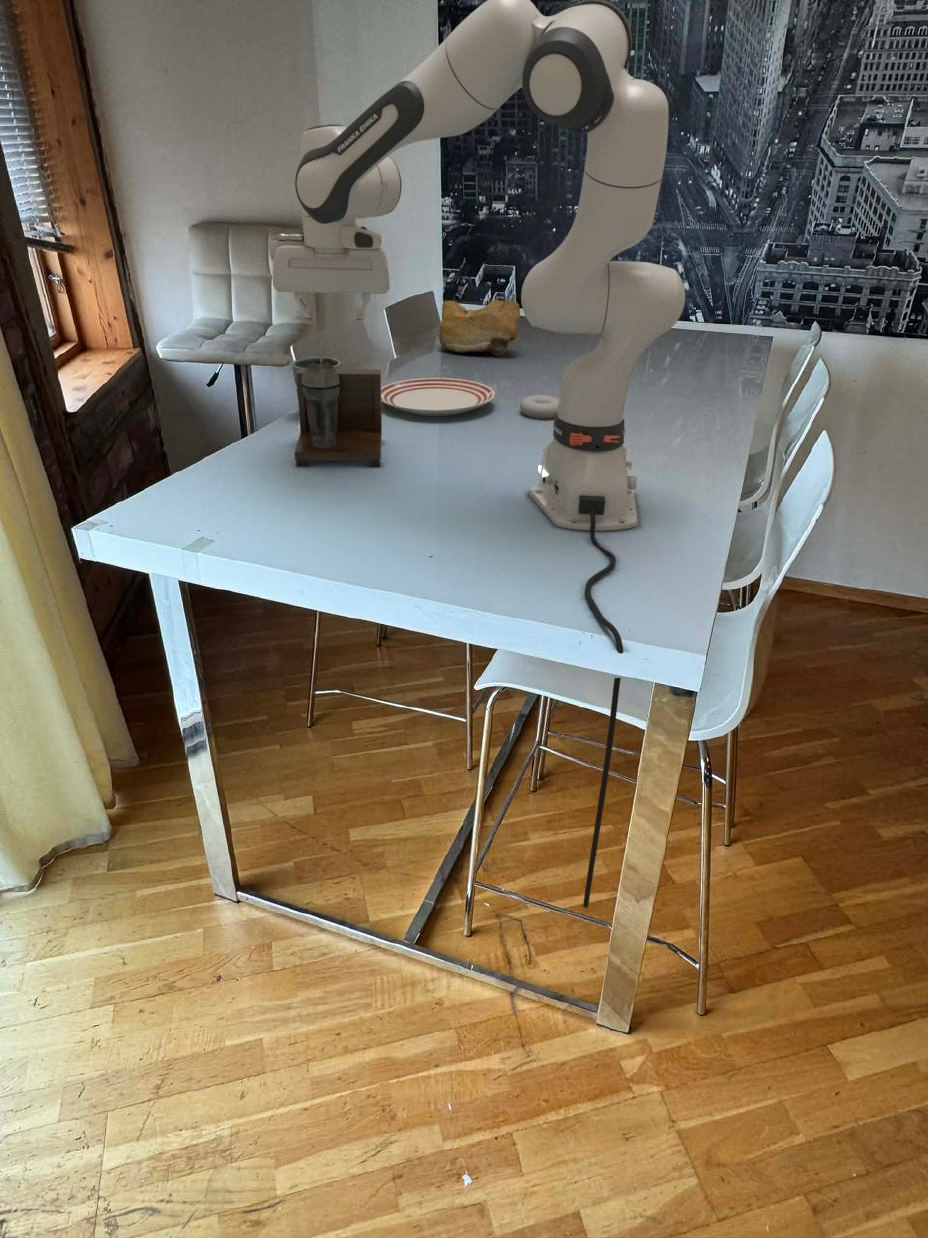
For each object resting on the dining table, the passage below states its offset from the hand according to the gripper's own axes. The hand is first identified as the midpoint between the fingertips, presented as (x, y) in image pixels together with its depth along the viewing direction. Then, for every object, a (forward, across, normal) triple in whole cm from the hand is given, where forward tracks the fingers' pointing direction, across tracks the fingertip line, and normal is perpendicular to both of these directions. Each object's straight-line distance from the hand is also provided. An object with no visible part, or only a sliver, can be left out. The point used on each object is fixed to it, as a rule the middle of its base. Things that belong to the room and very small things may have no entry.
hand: (333, 318), depth 151 cm
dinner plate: (+26, +20, +36) cm, 49 cm away
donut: (+26, +44, +30) cm, 59 cm away
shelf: (+26, 0, +2) cm, 26 cm away
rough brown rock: (+26, +36, +91) cm, 101 cm away
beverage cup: (+23, -3, -1) cm, 23 cm away
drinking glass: (+26, -6, +26) cm, 37 cm away
